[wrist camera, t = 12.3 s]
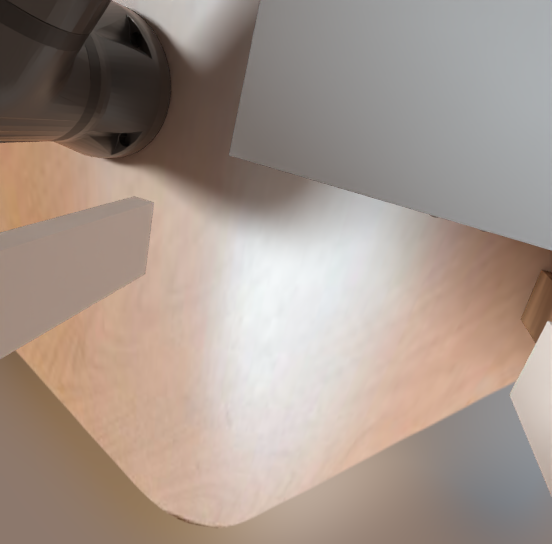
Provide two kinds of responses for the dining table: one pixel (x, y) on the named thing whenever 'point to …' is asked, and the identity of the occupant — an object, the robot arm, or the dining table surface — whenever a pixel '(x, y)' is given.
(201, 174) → the dining table surface
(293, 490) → the dining table surface
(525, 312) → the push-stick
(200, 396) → the dining table surface
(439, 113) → the cabinet
